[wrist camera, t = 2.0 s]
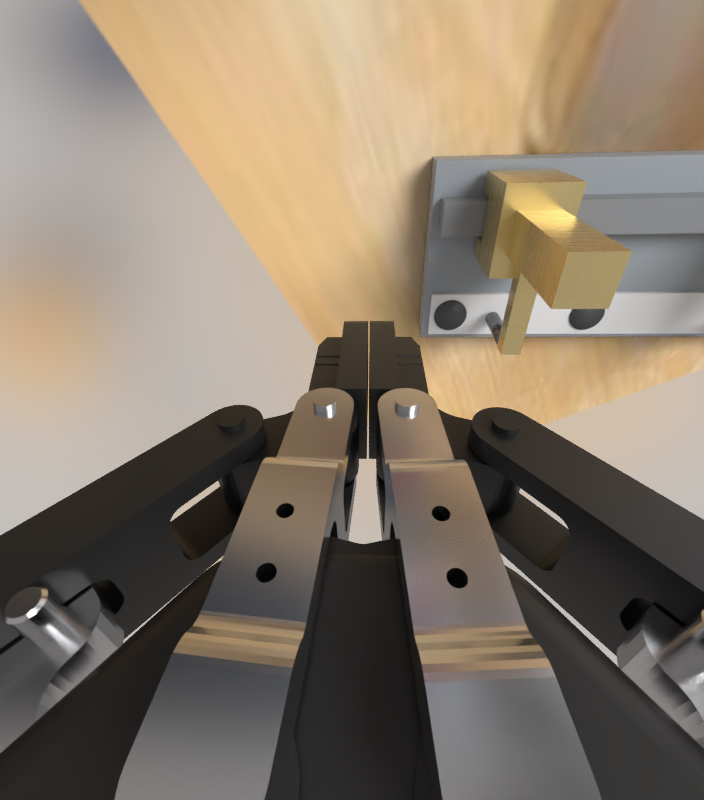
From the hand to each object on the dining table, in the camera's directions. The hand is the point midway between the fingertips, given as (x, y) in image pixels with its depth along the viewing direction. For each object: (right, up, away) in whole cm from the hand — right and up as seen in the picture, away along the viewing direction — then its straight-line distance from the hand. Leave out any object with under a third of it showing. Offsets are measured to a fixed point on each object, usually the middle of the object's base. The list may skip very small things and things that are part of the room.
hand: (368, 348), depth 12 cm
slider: (+10, +8, +14) cm, 19 cm away
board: (+18, +9, +16) cm, 26 cm away
